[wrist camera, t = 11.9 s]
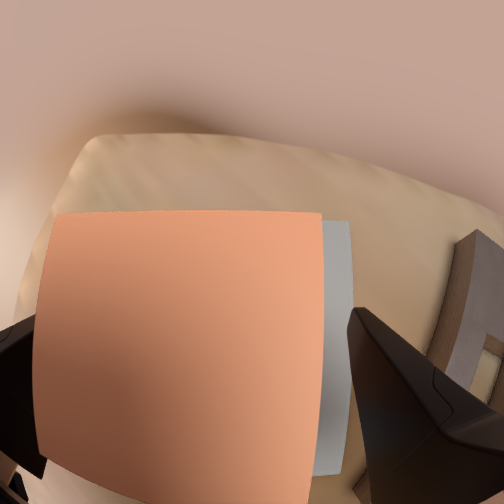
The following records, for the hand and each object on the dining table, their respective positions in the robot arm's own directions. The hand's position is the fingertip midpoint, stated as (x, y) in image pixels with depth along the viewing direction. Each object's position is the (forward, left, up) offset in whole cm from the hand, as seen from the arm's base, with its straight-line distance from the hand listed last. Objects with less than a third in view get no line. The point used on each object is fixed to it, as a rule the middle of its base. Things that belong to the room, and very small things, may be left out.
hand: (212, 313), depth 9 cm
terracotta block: (-1, -1, -8) cm, 8 cm away
